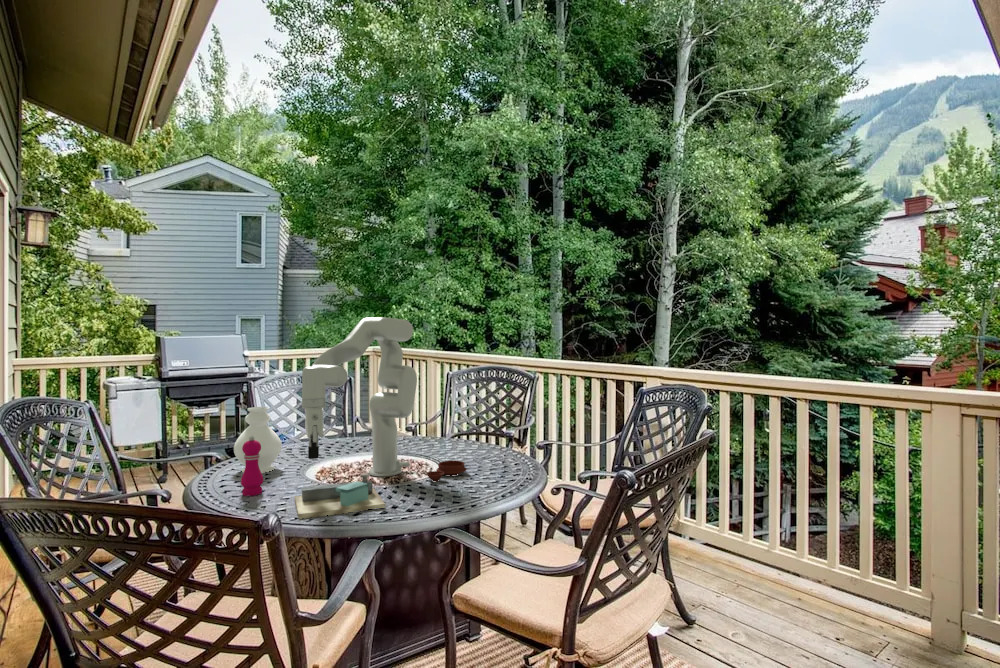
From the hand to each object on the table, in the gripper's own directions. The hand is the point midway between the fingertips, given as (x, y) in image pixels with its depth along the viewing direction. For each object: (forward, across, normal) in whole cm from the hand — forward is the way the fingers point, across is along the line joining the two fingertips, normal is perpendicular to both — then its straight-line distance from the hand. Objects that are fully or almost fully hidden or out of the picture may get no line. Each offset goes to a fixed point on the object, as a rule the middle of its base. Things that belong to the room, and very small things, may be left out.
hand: (313, 458), depth 199 cm
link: (+12, -7, -7) cm, 15 cm away
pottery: (+13, +9, -49) cm, 52 cm away
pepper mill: (+14, +14, +19) cm, 27 cm away
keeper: (+12, -14, -11) cm, 21 cm away
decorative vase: (+13, +49, +17) cm, 54 cm away
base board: (+13, -11, -7) cm, 19 cm away
